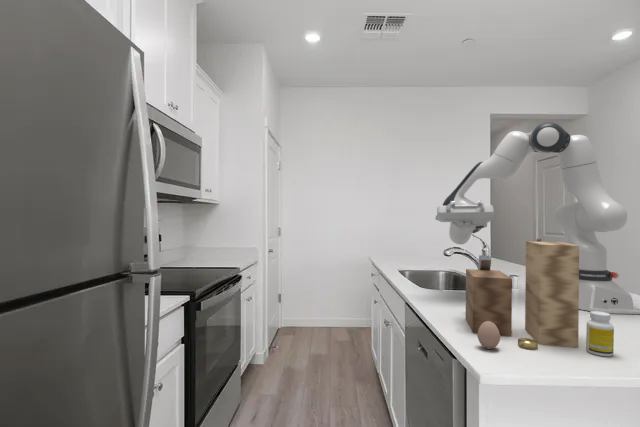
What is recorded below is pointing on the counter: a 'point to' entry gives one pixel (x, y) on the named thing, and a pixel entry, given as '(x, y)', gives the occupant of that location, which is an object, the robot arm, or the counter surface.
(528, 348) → the brass disc
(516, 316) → the counter surface
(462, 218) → the robot arm
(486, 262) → the hook bar
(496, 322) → the walnut block
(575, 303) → the oak shelf block
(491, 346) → the egg
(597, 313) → the supplement bottle
